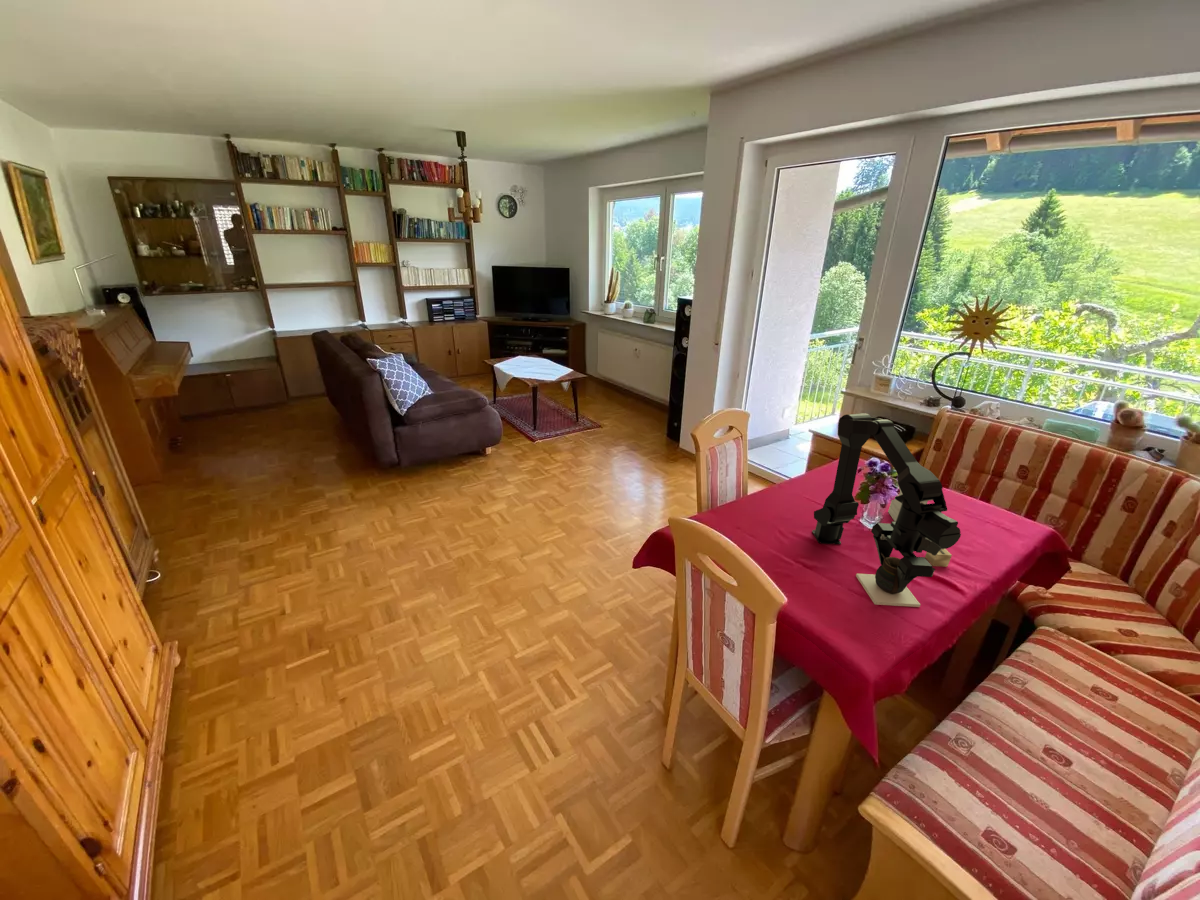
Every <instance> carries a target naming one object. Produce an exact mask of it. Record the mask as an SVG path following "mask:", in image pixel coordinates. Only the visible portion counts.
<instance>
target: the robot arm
mask: <svg viewBox="0 0 1200 900" xmlns="http://www.w3.org/2000/svg"><path fill="white" fill-rule="evenodd" d="M871 436H873V438H874V439H875V440H876V442H877V444H878V445H879V447H880V449H881V450H882V451H883V453H884V455H885V456H886V458H887V459H888V461H889V462H890V464H891V465H892V467H893V468H894V470H895V472H896V474H897V482H898V485H899V487H900V490H901V492H902V495H900V496H896V497H895V499H896V500H897V501H899V502H900V503H902V505H901V508H900V511H899V514H898V517H897V520H896V522H895V521H891V523H882V522H876V523H875V524H874V525H872V528H871V531H870V532H871V533H872V534H873V536H872V538H873V539H874V543H875V547H876V551H877V554H878V558H879V563H880V566H881V565H882V564H883V561H884V558H883V556H882V555H881V553H882V554H883V555H884V557H885V558H887V557H891V554H892V552H893V550H894V551H898V552H899V553H900V554H901V556H902V557H901V558H899V559H900V562H899V565H900V566H897V572H898V587H899V588H904V587H905V586H906V585H907V586H908V585H909V584H910V583H911V582H912V581H914V579H916V578H917V577H924V578H932V577H933V575H934V573H935V571H936V569H935V568H934V566H932V565H931V563H930V562H929V561H928V560H927V559H926V558H925V556H917V555H916V554H915V553H918V554H919V553H921V554H922V553H923V552H926V553H927V552H928V553H931V554H932V555H934V556H936V554H937V553H938V552H939V551H940V550H941V549H942V548H943V549H946V550H948V549H949V548H952V547H953V546H954V545H956V543H958V541H959V540H960V538H961V536H962V533H961V529H960V527H958V525H959V522H958V521H957V520H955V519H954V518H951V517H950V516H949V515H948V516H947V515H946V514H944V513H943V512H947V511H948V507H947V501H946V499H945V495H944V492H943V488H944V487H943V484H942V481H940V479H939V478H938V477H937V476H936V475H935V474H934V473H933V472H932V471H931V470H930V469H928V468H926V467H924V466H922V465H921V464H920V463H919V462H918V461H917V459H916V457H915V456H914V454H913V453H912V452H911V450H910V449H909V447H908V446H907V445H906V443H905V442H904V440H903V439H902V437H901V436H900V435H899V433H898V432H897V430H896V428H895V425H894V422H893V421H892V420H889V419H883V418H880V417H872V416H871V415H870V414H869V413H865V412H864V413H863V412H862V413H861V412H860V413H850V414H844V415H842V416H840V417H839V419H838V422H837V437H838V438H839V442H840V443H841V447H840V451H839V452H840V453H839V457H838V462H837V468H836V475H835V478H834V483H833V484H834V485H833V489H832V491H831V493H830V494H829V495H828V496H827V497H826V498H825V501H824V503H823V506H822V507H821V508H819V509H817V510H814V511H813V519H814V520H816V521H817V522H816V526H815V529H812V530H811V532H812V533H813V536H814V537H815V539H816V541H817V542H818V543H819V544H825V545H841V544H842V542H841V539H842V536H843V532H844V529H845V528H844V524H849V522H850V521H852V520H854V519H855V517H856V516H858V508H859V506H860V505H859V502H858V501H856V500H855V498H854V495H853V491H854V486H855V482H856V477H857V472H858V467H859V462H860V458H861V453H862V448H863V446H864V445H865V444H866V443H867V442H868V440H869V439H870V438H871ZM922 501H929V502H930V501H933V503H927V504H923V503H922ZM914 552H915V553H914Z"/></svg>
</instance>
